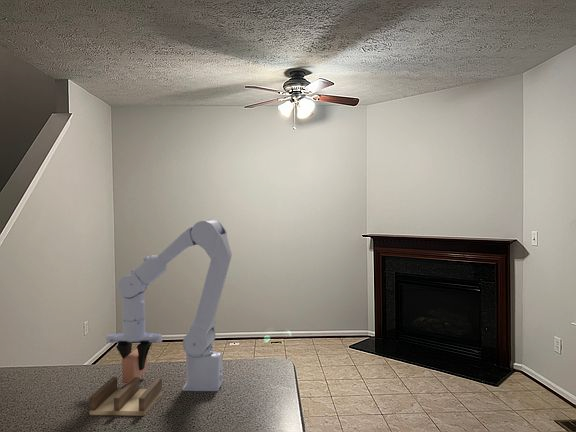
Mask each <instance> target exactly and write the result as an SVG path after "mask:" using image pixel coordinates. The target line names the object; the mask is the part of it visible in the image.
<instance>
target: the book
mask: <svg viewBox="0 0 576 432" xmlns="http://www.w3.org/2000/svg"><path fill="white" fill-rule="evenodd" d="M121 365H122V366H121V367H122V368H121V369H122V383H123V384H129V383H130V382H131V381H132V380H133V379H134V378H135V377H139V379H140V377H142V376H143V375H144V374H145V373H146V372H147V371H148V356H147V357H146V361H145V367H144V369H143V370H139V355H138V349H137V347H136V348H135V349H134V350H131V353H130V354H129V355H128V356H126V357H125V358H124V359H123V358H122V359H121Z"/></svg>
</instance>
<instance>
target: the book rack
mask: <svg viewBox="0 0 576 432" xmlns="http://www.w3.org/2000/svg"><path fill="white" fill-rule="evenodd" d="M162 379H163V378H162V377H156V378H155V379H154V381H153V382H152V383H151V384H150V385H149V386H148V387H147V388H141V387H140V386H141V385H140V378H139V377H135V378H134V379H133V380H132V381H131V382H130V383H127V384H126V386H124V387H122V388H119V386H118V376H112V377H111V378H110V379H109V380H107V381H106V382H105V383H104V384H103V385H102V386H101V387H99V388H98V389H97V390H96V391H95V392H93V394H92V395H90V396H89V398H88V401H89V403H88V404H89V405H88V406H89V416H135V417H136V416H142V417H143V416H146V414H147V413H148V412H149V410H150V409H151V408H152V407H153V405H154V404H155V403H156V402H157V401H158V398H159V397H160V396H161V395H162V394H163V380H162Z"/></svg>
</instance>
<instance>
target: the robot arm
mask: <svg viewBox="0 0 576 432" xmlns="http://www.w3.org/2000/svg"><path fill="white" fill-rule="evenodd" d="M196 245H198V246H199V247H201V248H202V249H203V250H204V251H205V253H206V254H207V255H208V257H209V258H210V262H209V266H208V270H207V274H206V278H205V281H204V284H203V288H202V292H201V296H200V300H199V304H198V306H197V310H196V313H195V317H194V318H193V321H192V323H191V324H190V328H189V331H188V333H187V334H186V335H184V337H183V340H182V348H183V350H184V351H185V365H186V369H185V370H186V371H185V372H186V382H185V384H184V385H183V387H182V389H181V390H182V391H183V392H188V391H189V392H219V390H220V389H221V386H222V384H223V382H224V364H223V363H224V361H223V353H222V352H218V351H214V350H215V349H214V347H213V345H212V344H213V343H214V342H215V340H216V329H215V328H216V327H215V326H216V315H217V311H218V308H219V305H220V301H221V297H222V293H223V289H224V286H225V281H226V279H227V275H228V271H229V267H230V263H231V260H232V256H233V255H232V251H231V247H230V244H229V239H228V231H227V229H225V227H224V226H223V224H222V223H221V222H220V221H218V220H216V219H213V218H212V219H207V220H200V221H197V222H196V223H194V225H192V226H191V227H188V228H187V229H186V230H185V231H184V232H182V233H181V234H180V235H179V236H178V237H177V238H176V239H174V241H172V242H171V243H170V244H169V245H168V246H167V247H166V248H165V249H163V251H161V253H159V254H158V255H156V254H152V255H150V256H149V255H148V256H145V257H144V258H143V259H142V260H143V262H142V263H140V264H139V265H138V266H137V267H136V268H132V269H130V274H127V275H124V276H122V277H121V279H120V280H119V282H118V283H117V289H118V292H119V294H120V295H121V300H122V302H121V304H122V306H121V307H122V333H109V334H108V335H106V344H111V343H117V345H116V350H117V351H118V352H119V354H120V356H121V358H122V360H123V359H124V358H125V357H126V356H128V355H129V354H130V353H131V352H132V349H133V343H139V344H137V345H136V348H137V349H138V355H139V370H143V369H144V367H145V361H146V357H147V358H148V353H149V351H150V349H151V346H152V344H153V343H156V344H161V343H162V342H163V334H161V333H151V332H146V310H145V309H146V305H145V304H146V303H145V292H146V291H147V289H148V287H149V286H150V285H152V284H153V283H154V282H155V281H157V279H159V278H160V277H161V276H162V275H164V273H166V271H167V267H168V266H167V265H168V264H169V263H170V262H171V261H173V260H174V259H175V258H177V257H178V256H179V255H181V253H183V252H184V251H186V250H187V249H188V248H189V247H194V246H196Z"/></svg>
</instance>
